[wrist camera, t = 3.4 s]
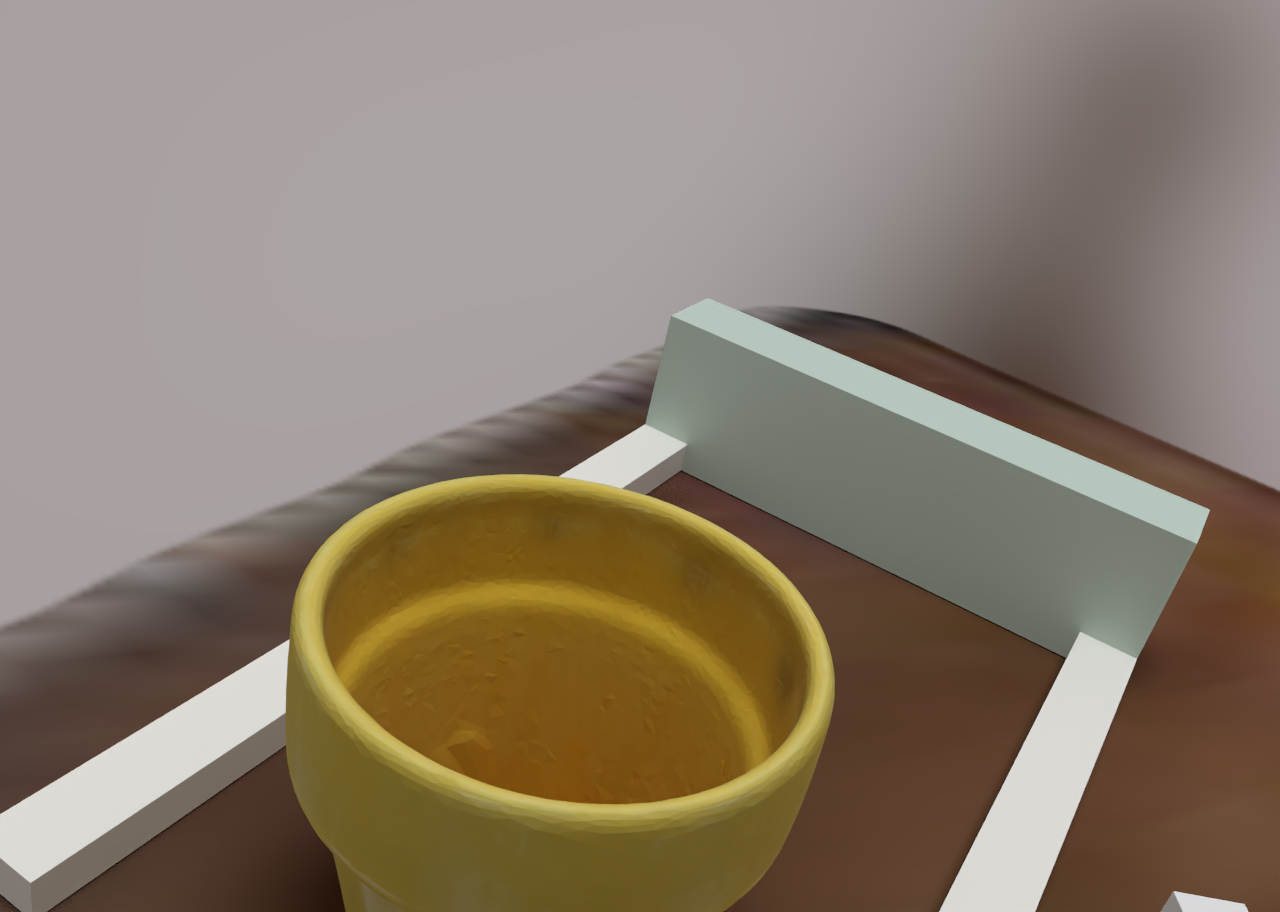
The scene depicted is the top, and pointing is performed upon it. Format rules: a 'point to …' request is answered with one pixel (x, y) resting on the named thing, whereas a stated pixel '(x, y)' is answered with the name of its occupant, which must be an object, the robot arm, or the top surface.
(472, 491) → the plant pot
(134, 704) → the top surface
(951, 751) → the top surface
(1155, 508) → the guide track
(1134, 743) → the top surface
